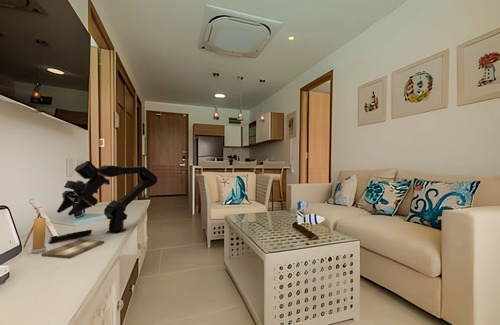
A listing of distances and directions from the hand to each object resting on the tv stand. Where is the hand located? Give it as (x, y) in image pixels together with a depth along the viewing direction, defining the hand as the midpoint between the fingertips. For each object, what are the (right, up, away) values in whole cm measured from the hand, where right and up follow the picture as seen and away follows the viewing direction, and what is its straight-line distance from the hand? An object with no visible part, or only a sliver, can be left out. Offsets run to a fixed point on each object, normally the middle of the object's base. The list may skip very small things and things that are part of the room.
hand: (63, 213), depth 91 cm
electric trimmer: (-4, -14, +8) cm, 17 cm away
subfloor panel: (+8, -14, -3) cm, 16 cm away
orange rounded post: (-4, -13, -7) cm, 16 cm away
